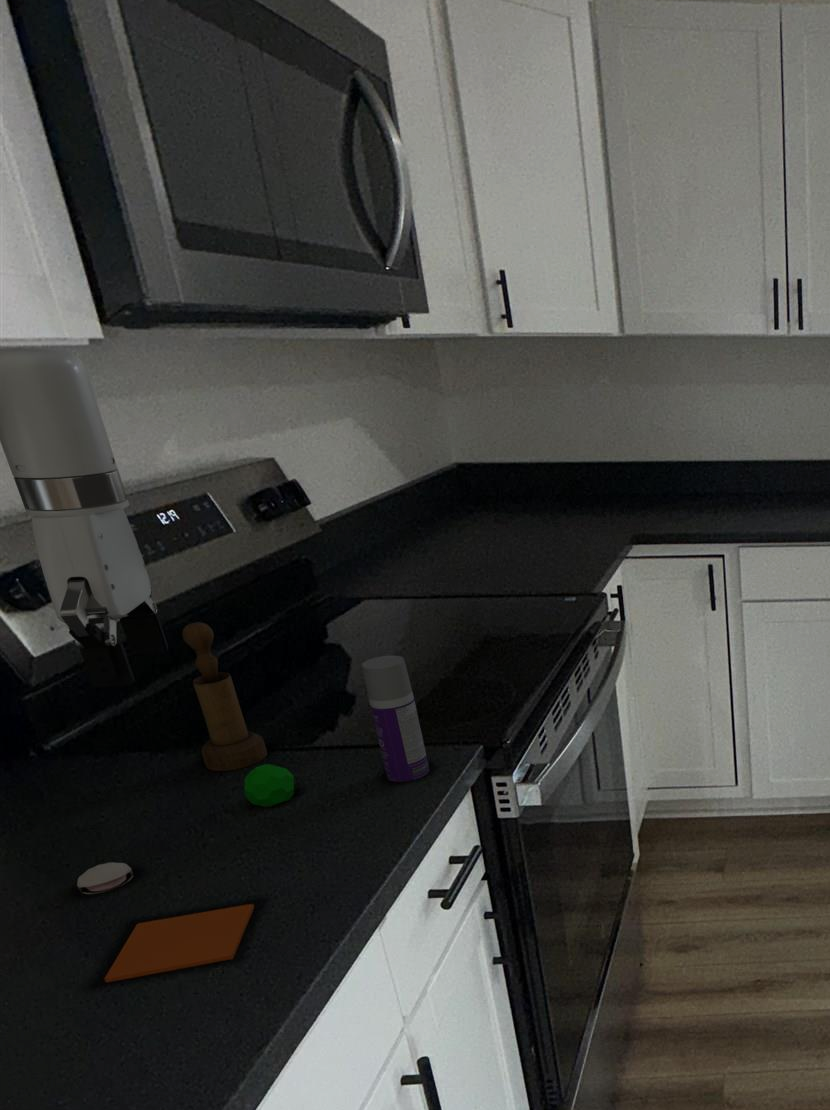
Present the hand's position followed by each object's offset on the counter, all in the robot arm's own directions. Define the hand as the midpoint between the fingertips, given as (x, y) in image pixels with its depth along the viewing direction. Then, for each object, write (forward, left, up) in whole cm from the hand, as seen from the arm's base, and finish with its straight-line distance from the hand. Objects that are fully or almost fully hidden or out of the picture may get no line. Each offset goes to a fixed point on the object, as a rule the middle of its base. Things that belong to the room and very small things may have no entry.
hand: (133, 668), depth 92 cm
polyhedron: (+7, +5, -19) cm, 21 cm away
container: (+21, +7, -19) cm, 29 cm away
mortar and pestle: (0, +20, -19) cm, 28 cm away
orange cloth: (+5, -23, -19) cm, 30 cm away
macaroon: (-5, -9, -19) cm, 22 cm away
